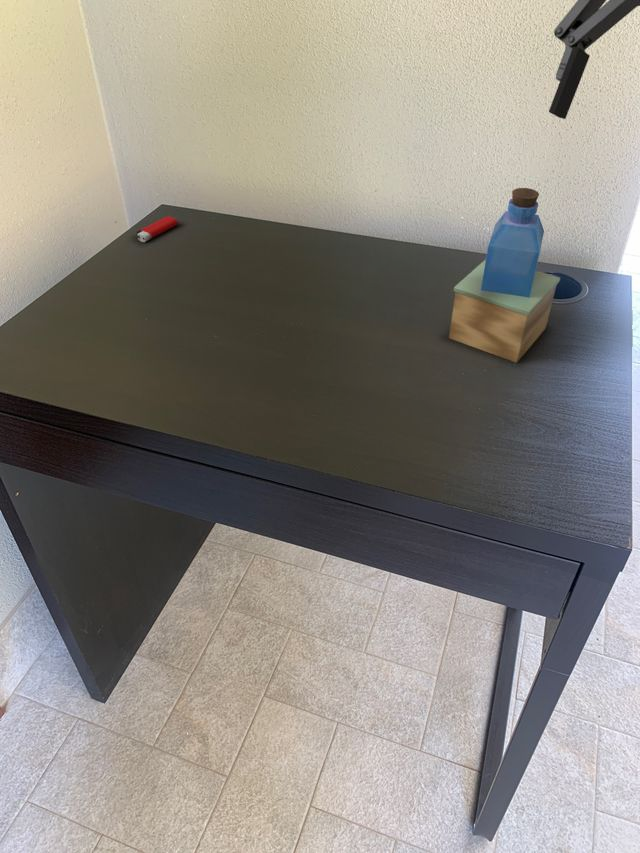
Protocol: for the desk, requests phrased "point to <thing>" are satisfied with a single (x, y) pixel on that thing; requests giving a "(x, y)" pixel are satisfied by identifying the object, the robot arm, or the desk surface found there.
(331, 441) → the desk surface
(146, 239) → the lighter
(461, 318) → the pale green square pedestal
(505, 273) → the perfume bottle
